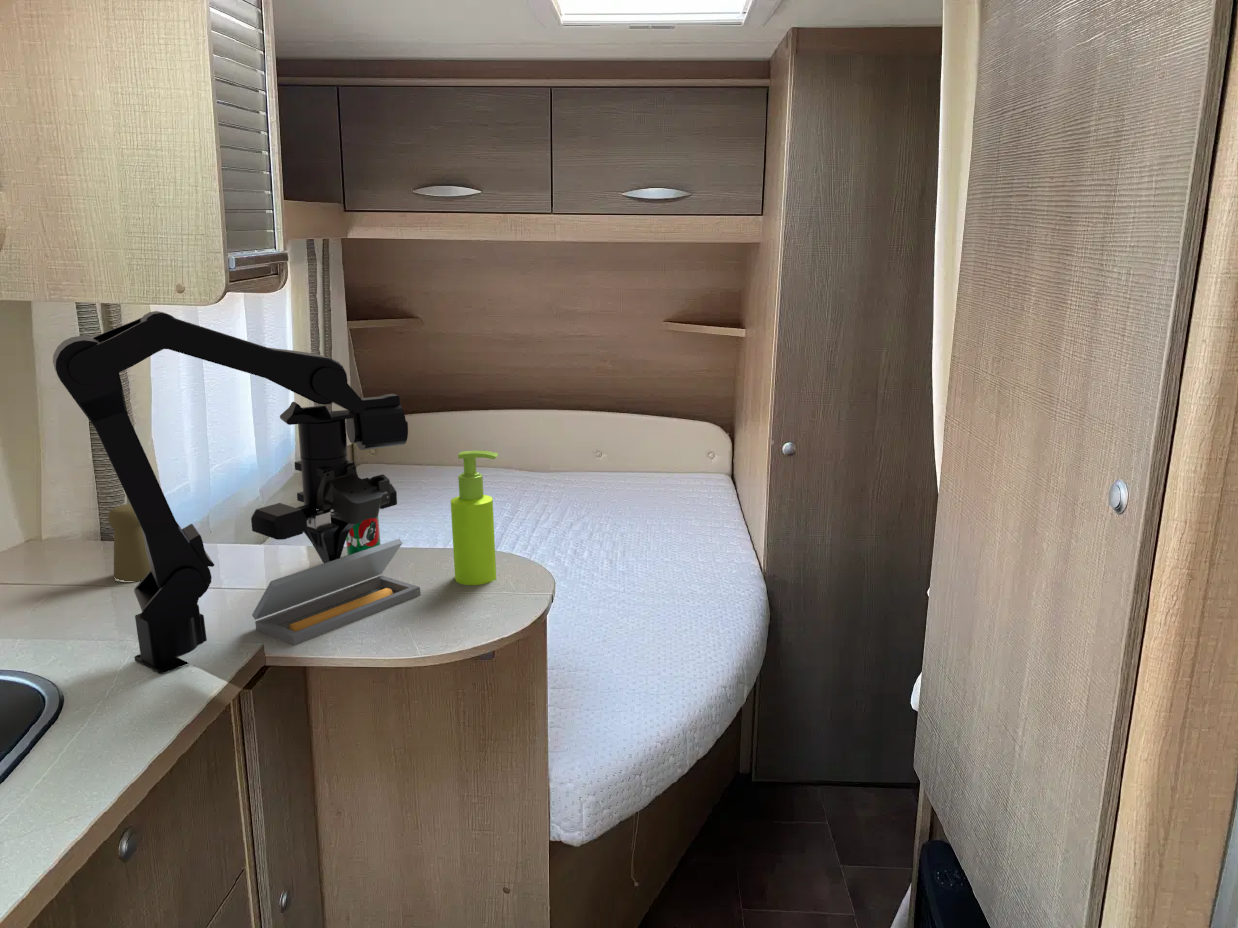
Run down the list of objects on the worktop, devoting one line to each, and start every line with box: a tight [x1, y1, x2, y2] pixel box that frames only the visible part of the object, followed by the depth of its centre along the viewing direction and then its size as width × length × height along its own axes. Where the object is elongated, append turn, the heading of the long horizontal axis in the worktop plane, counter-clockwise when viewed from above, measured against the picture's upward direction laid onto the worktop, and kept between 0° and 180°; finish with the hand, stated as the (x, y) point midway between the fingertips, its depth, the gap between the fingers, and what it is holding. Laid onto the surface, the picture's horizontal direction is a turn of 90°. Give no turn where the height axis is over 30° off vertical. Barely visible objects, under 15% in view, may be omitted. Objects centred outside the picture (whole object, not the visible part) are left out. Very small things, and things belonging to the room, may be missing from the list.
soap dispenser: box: [450, 449, 499, 586], centre depth 132 cm, size 6×7×20 cm
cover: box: [251, 538, 403, 621], centre depth 123 cm, size 20×8×1 cm
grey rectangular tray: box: [254, 574, 421, 646], centre depth 123 cm, size 20×8×2 cm, turn 143°
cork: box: [107, 503, 151, 582], centre depth 140 cm, size 6×6×11 cm
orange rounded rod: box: [288, 587, 394, 632], centre depth 123 cm, size 16×2×2 cm, turn 143°
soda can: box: [345, 516, 382, 556], centre depth 143 cm, size 5×5×12 cm
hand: (331, 569), depth 122 cm, fingers closed, pressing on cover
